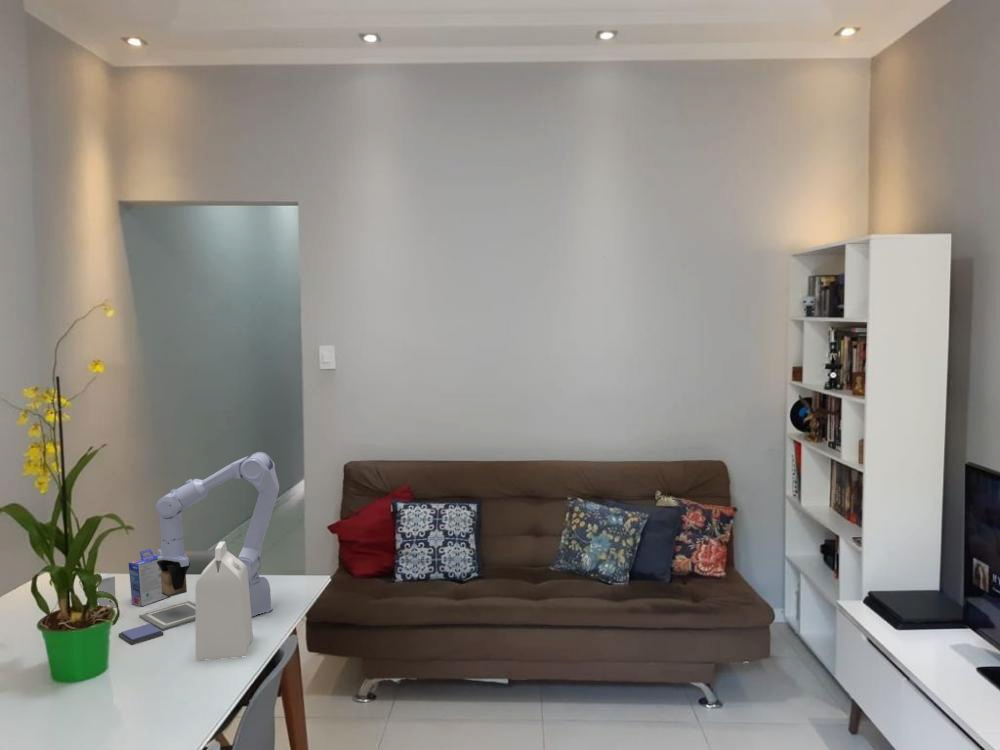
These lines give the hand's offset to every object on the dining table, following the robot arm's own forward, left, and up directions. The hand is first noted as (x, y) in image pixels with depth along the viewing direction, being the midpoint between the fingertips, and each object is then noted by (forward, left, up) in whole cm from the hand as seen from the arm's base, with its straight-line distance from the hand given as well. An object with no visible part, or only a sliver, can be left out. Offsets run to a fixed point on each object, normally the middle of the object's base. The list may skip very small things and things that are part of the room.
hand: (174, 586), depth 215 cm
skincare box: (+14, -13, -8) cm, 21 cm away
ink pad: (+12, +6, -8) cm, 16 cm away
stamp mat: (0, 0, -8) cm, 8 cm away
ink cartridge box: (-1, -18, -8) cm, 20 cm away
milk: (+1, +30, -8) cm, 31 cm away
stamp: (0, 0, -2) cm, 2 cm away
